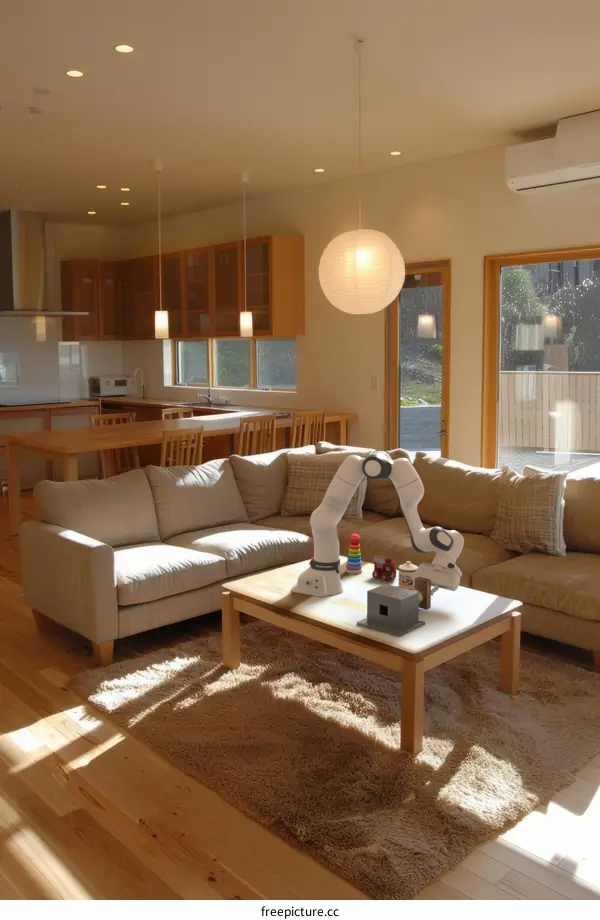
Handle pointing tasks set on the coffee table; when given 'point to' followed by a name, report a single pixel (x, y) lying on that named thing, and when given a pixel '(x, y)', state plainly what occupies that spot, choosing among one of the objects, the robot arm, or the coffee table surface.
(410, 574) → the teacup with lid
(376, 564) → the toy fire truck
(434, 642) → the coffee table surface
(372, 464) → the robot arm
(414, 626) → the bearing block
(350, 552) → the stacking toy
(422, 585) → the shaft
